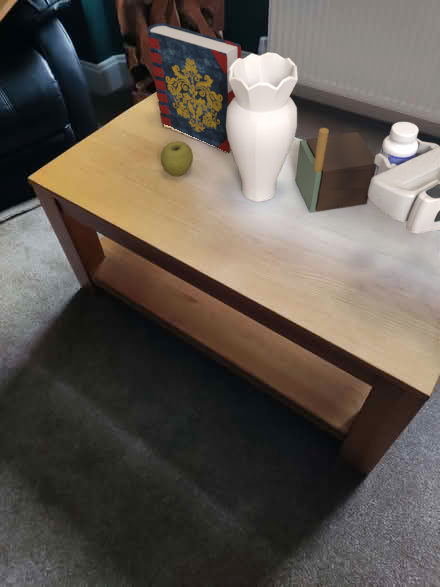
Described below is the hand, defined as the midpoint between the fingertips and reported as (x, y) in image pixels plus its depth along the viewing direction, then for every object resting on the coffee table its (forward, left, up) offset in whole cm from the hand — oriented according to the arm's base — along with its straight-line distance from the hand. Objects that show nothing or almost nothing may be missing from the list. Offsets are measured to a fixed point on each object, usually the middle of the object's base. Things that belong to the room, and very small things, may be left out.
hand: (393, 149), depth 70 cm
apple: (+34, -36, -25) cm, 56 cm away
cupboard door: (+6, -20, -24) cm, 32 cm away
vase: (+16, -24, -25) cm, 38 cm away
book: (+27, -52, -25) cm, 63 cm away
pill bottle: (0, +1, -6) cm, 6 cm away
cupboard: (-1, -20, -25) cm, 32 cm away
